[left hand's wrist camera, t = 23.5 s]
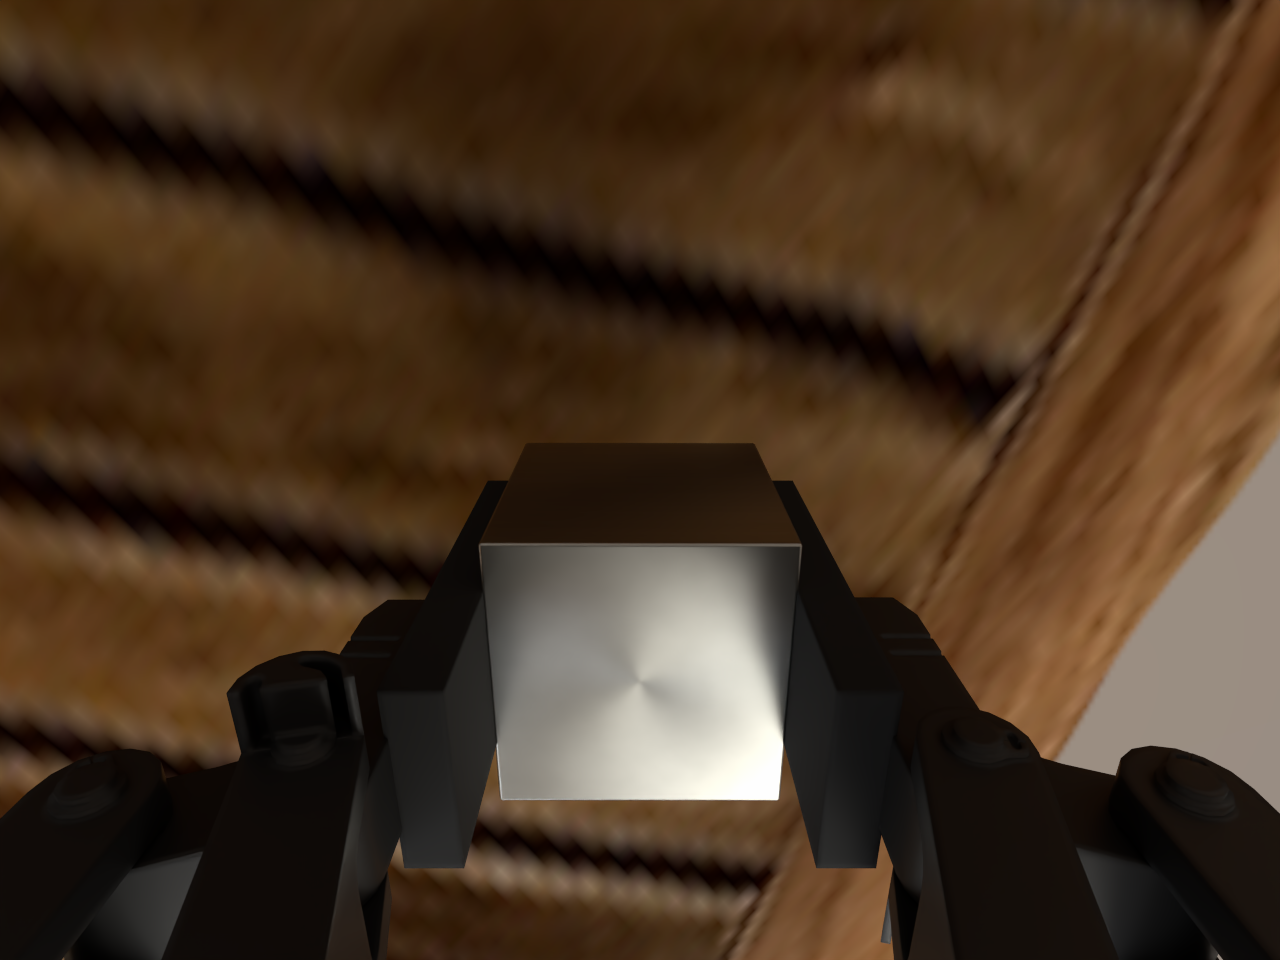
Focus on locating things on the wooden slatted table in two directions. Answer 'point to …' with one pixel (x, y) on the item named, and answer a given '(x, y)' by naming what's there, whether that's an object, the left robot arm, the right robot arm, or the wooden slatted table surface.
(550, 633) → the block
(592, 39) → the wooden slatted table surface
